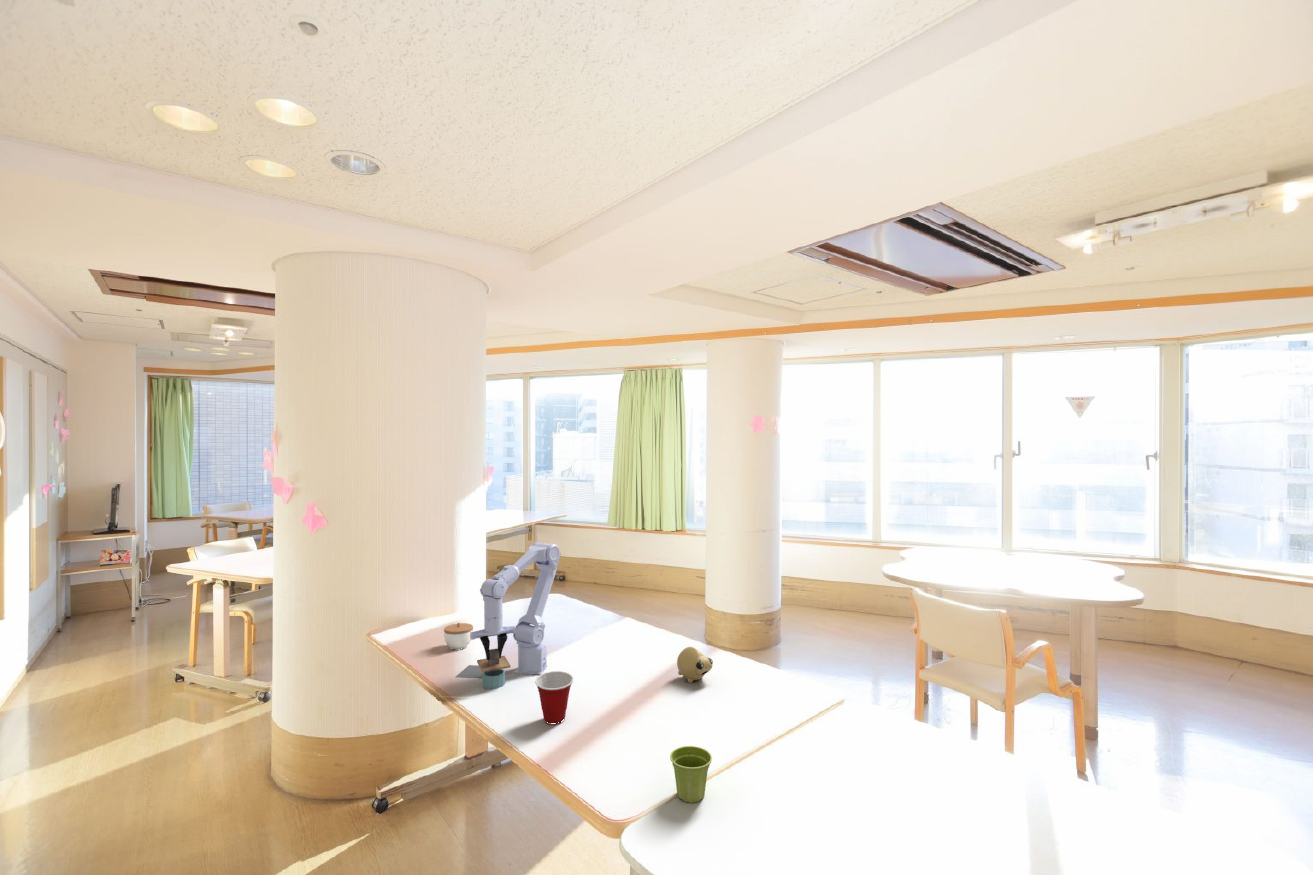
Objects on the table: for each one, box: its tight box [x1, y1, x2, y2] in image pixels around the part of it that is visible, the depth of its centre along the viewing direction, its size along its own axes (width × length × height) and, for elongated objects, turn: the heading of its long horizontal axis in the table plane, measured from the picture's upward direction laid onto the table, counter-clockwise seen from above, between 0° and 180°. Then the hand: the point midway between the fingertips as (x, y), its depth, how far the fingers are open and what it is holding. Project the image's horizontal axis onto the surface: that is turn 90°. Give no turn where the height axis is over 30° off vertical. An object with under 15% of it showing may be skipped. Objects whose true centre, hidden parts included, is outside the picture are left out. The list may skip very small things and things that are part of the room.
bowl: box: [481, 669, 506, 690], centre depth 197 cm, size 7×7×4 cm
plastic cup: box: [534, 670, 574, 723], centre depth 171 cm, size 11×11×12 cm
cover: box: [476, 648, 511, 672], centre depth 197 cm, size 9×9×5 cm
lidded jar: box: [443, 622, 474, 650], centre depth 234 cm, size 11×11×9 cm
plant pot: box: [669, 745, 713, 803], centre depth 135 cm, size 9×9×9 cm
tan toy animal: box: [676, 646, 714, 683], centre depth 200 cm, size 10×12×11 cm
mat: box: [455, 664, 483, 679], centre depth 208 cm, size 11×11×1 cm
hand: (493, 657), depth 197 cm, fingers closed on cover, 3 cm apart
